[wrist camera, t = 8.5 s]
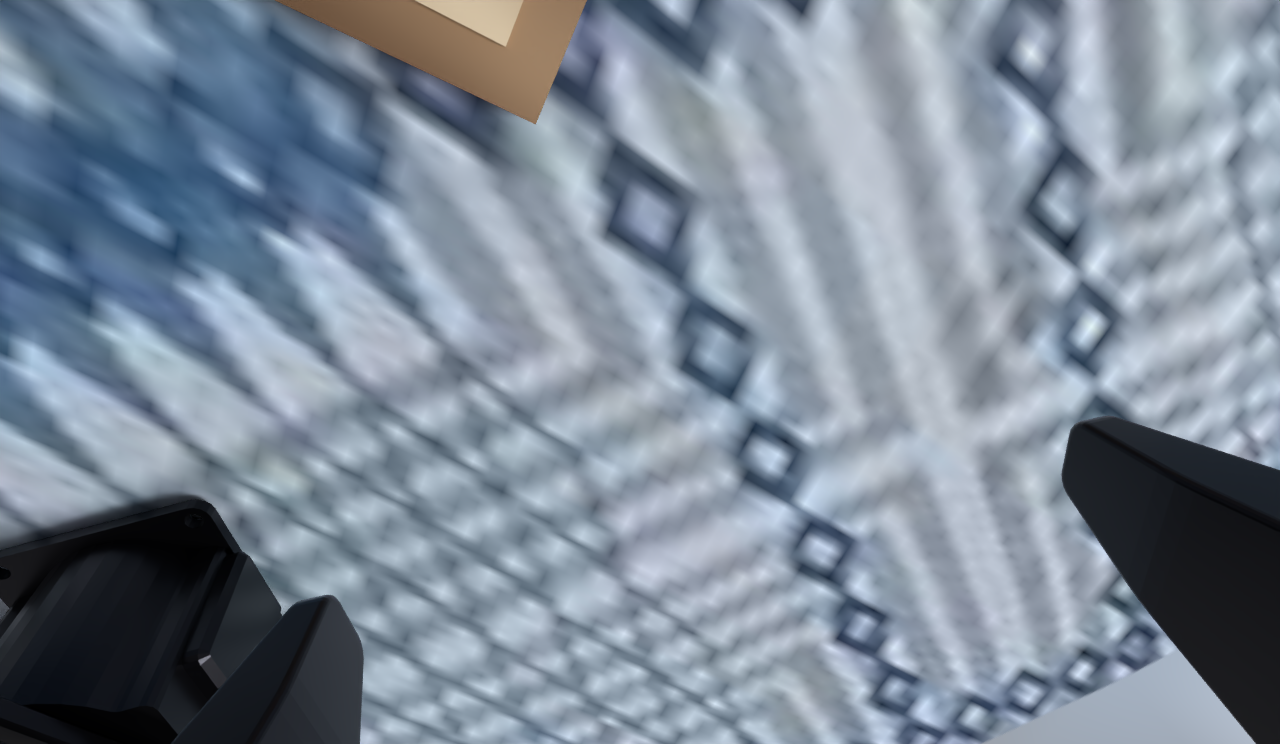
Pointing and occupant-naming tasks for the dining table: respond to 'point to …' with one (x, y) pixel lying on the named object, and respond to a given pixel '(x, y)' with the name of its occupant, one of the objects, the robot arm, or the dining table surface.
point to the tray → (465, 41)
